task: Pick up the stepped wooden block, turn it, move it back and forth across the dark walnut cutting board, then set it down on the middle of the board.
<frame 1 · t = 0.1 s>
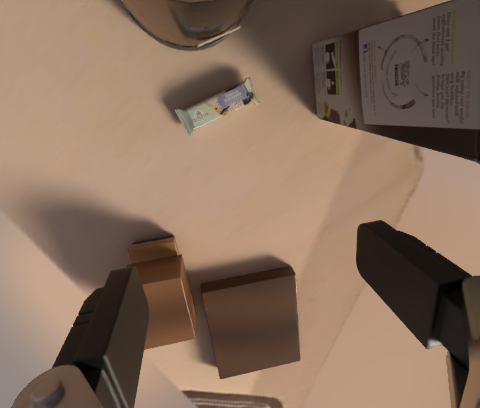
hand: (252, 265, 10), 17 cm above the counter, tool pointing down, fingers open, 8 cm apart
stepped wooden block: (164, 279, 30), on the counter
coffee box: (362, 73, 26), on the counter
granola bar: (217, 106, 25), on the counter
board: (253, 320, 34), on the counter
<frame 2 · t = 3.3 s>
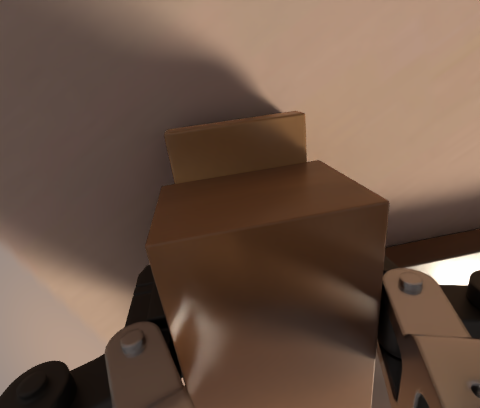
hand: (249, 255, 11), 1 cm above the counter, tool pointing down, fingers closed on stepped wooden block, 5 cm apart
stepped wooden block: (246, 243, 12), on the counter, touching gripper
board: (415, 341, 16), on the counter
when the fingers open (2 cm above the counter, at t = 16.0 s): stepped wooden block stays where it is, resting on board.
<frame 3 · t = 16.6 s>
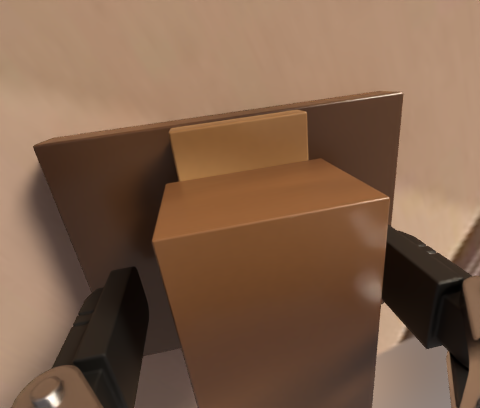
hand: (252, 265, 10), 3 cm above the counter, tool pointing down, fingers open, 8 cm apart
stepped wooden block: (248, 241, 12), point 1 cm above the counter, touching board
board: (240, 225, 13), on the counter
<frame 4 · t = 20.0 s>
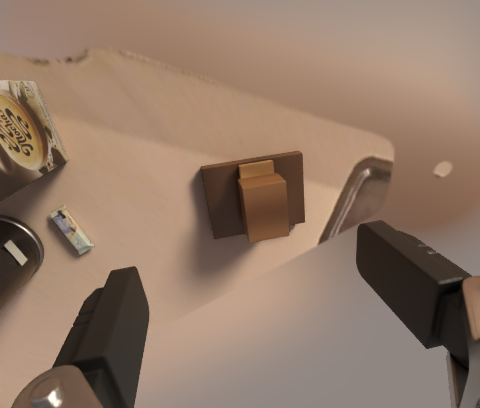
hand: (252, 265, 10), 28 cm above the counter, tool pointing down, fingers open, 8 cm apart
stepped wooden block: (257, 197, 39), point 1 cm above the counter, touching board
coffee box: (26, 127, 33), on the counter
granola bar: (74, 228, 38), on the counter
board: (254, 193, 40), on the counter
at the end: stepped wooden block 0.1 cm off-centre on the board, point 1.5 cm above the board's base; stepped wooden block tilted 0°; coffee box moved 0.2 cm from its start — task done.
